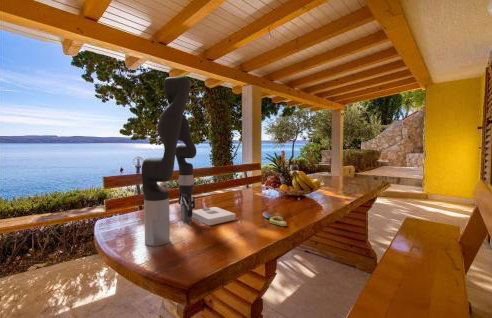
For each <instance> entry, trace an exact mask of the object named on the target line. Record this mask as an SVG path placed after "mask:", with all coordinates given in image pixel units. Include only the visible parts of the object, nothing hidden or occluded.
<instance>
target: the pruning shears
mask: <svg viewBox="0 0 492 318" xmlns="http://www.w3.org/2000/svg"><path fill="white" fill-rule="evenodd" d="M262 216H263V217H264V218H266V219H269V223H271V224H273V225H276V226H279V227H280V226H281V227H286V226H287V221H285V220H284V217H282V216H279V215H275V214H269V213H267V211H264V212H263V213H262Z"/></svg>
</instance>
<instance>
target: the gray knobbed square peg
mask: <svg viewBox="0 0 492 318" xmlns="http://www.w3.org/2000/svg"><path fill="white" fill-rule="evenodd" d="M180 214H181V215H180V220H181V222H183V223H189V222H192V221H193V217H188V208H187V206H186V204H185V203H184V205H181V206H180Z"/></svg>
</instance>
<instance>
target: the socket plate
mask: <svg viewBox="0 0 492 318" xmlns="http://www.w3.org/2000/svg"><path fill="white" fill-rule="evenodd" d="M192 219H195V220H197V221H199V222H201V223H203V224H205V225H206V226H213V225H217V224H221V223H226V222H230V221H235V220H236V213H234V212H231V211H228V210H226V209H223V208H220V207H217V206H213V207H207V208H200V209H192Z"/></svg>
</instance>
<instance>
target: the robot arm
mask: <svg viewBox="0 0 492 318" xmlns="http://www.w3.org/2000/svg"><path fill="white" fill-rule="evenodd" d="M163 89H164V94H165V97H166V100H167V103H168V106H167V107H166V108H164V110H163V111H162V112H161V114H160V117H159V120H158V123H157V128H156V129H157V133H158V135H159V138H160V139H161V143H162V144H163V148H164V149H163V155H162V157H147V158H145V159H144V160H143V162H142V163H141V181H142V182H141V183H142V193H143V200H144V205H143V207H144V209H143V210H144V244H145V245H146V246H150V247H152V248H153V247H154V248H155V247H159V246H162V245H167V244H169V243H170V242H171V241H170V240H171V239H170V237H171V235H170V233H171V232H170V229H171V228H170V191H169V190H168V189H166V188H163V187H162V186H160V185H159V184H158V182H163V183H164V182H169V181H170V180H171V179H172V177H173V174H174V171H175V169H174V168H175V162H177V165H178V205H179V206H180V207H181V205H184V203H185V204H186V206H187V208H188V217H192V211H193V210H195V209H196V201H195V200H196V199H195V196H192V194H193V193H194V192H195V191H194V190H195V189H194V188H195V187H194V186H195V184H194V183H195V179H194V165H193V163H190V162H188V161H186V159H195V157H196V156H197V147H196V144H195V142H194V140H193V137H192V135H191V128H190V123H189V120H188V119H187V117H186V115H185V108H186V106H187V102H188V99H189V97H190V92H191V82H190V80H189V78H188V77H186V76H183V75H182V76H170V77H166V78H165V79H164V81H163ZM178 141H180V142H183V143H184V144H178ZM192 218H193V217H192Z"/></svg>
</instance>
